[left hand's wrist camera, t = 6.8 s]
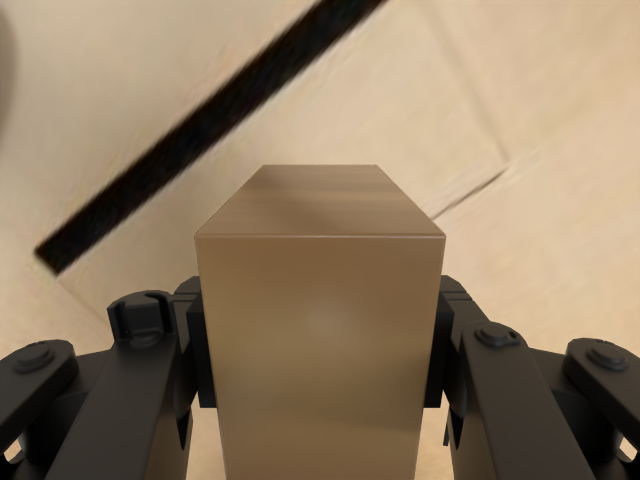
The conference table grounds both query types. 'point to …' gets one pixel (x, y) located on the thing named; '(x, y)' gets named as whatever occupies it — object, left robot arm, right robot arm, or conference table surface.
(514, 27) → the conference table surface
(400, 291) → the bar
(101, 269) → the conference table surface
